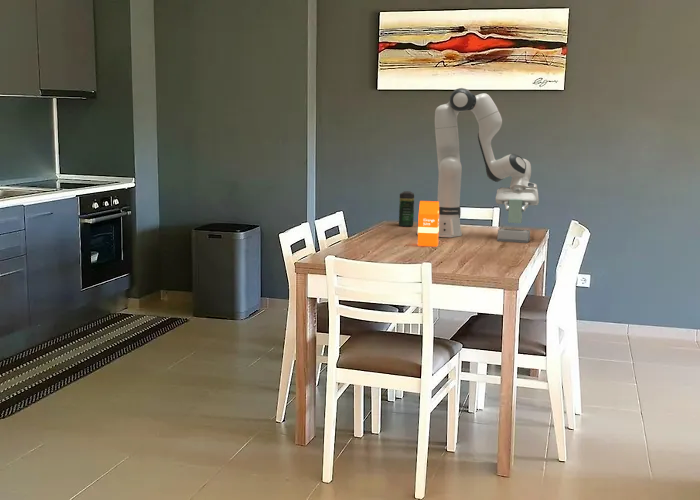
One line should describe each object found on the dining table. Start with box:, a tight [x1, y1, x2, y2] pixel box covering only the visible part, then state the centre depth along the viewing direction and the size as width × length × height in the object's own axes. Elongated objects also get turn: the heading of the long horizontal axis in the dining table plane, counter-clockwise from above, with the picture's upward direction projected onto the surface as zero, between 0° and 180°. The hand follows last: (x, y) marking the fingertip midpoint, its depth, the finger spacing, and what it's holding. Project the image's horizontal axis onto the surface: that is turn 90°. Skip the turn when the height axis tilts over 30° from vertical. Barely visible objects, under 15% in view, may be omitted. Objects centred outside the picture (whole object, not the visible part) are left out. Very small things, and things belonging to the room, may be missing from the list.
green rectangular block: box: [507, 199, 523, 224], centre depth 366 cm, size 4×6×11 cm, turn 69°
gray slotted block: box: [496, 227, 531, 244], centre depth 368 cm, size 14×10×5 cm
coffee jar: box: [398, 190, 415, 228], centre depth 413 cm, size 10×8×19 cm
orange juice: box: [417, 200, 440, 247], centre depth 351 cm, size 8×9×20 cm
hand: (515, 210), depth 365 cm, fingers closed on green rectangular block, 6 cm apart
